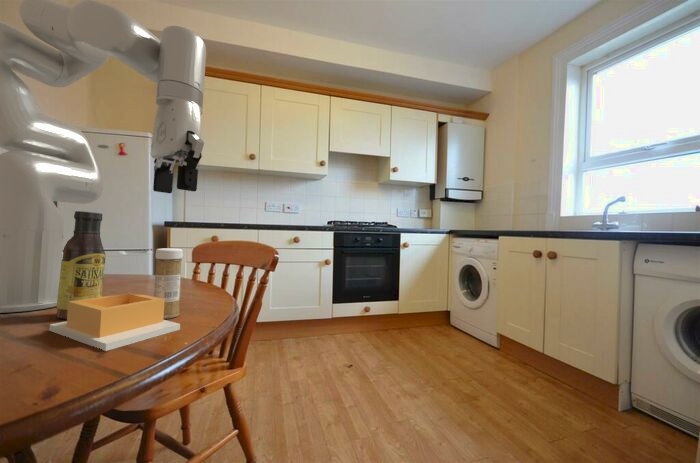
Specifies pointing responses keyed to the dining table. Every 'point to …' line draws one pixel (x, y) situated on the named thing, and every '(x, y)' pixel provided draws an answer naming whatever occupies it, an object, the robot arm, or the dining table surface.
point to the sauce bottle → (82, 263)
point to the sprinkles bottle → (168, 279)
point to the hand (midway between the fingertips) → (174, 191)
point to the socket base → (115, 320)
